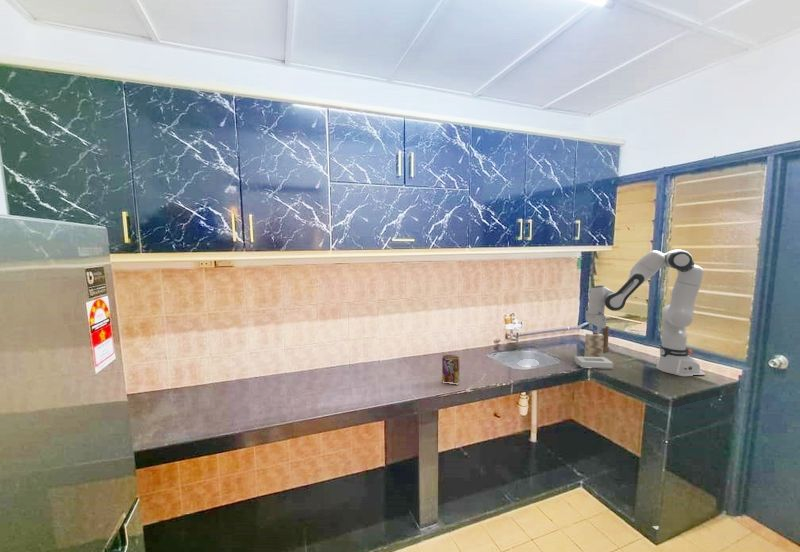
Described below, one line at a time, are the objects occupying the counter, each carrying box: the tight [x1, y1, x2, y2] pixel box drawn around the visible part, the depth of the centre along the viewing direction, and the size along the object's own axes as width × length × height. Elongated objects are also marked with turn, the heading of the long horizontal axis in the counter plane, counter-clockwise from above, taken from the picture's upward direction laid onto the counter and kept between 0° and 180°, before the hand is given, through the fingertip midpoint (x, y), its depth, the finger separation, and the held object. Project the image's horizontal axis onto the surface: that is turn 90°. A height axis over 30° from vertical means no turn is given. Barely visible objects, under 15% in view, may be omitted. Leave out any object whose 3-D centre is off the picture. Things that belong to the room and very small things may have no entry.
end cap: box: [574, 355, 614, 370], centre depth 205 cm, size 18×10×4 cm, turn 84°
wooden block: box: [592, 325, 610, 353], centre depth 230 cm, size 4×11×18 cm, turn 104°
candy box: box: [441, 354, 461, 383], centre depth 181 cm, size 9×4×15 cm, turn 72°
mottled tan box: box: [583, 333, 604, 357], centre depth 217 cm, size 10×3×16 cm, turn 84°
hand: (594, 331), depth 216 cm, fingers open, 8 cm apart
